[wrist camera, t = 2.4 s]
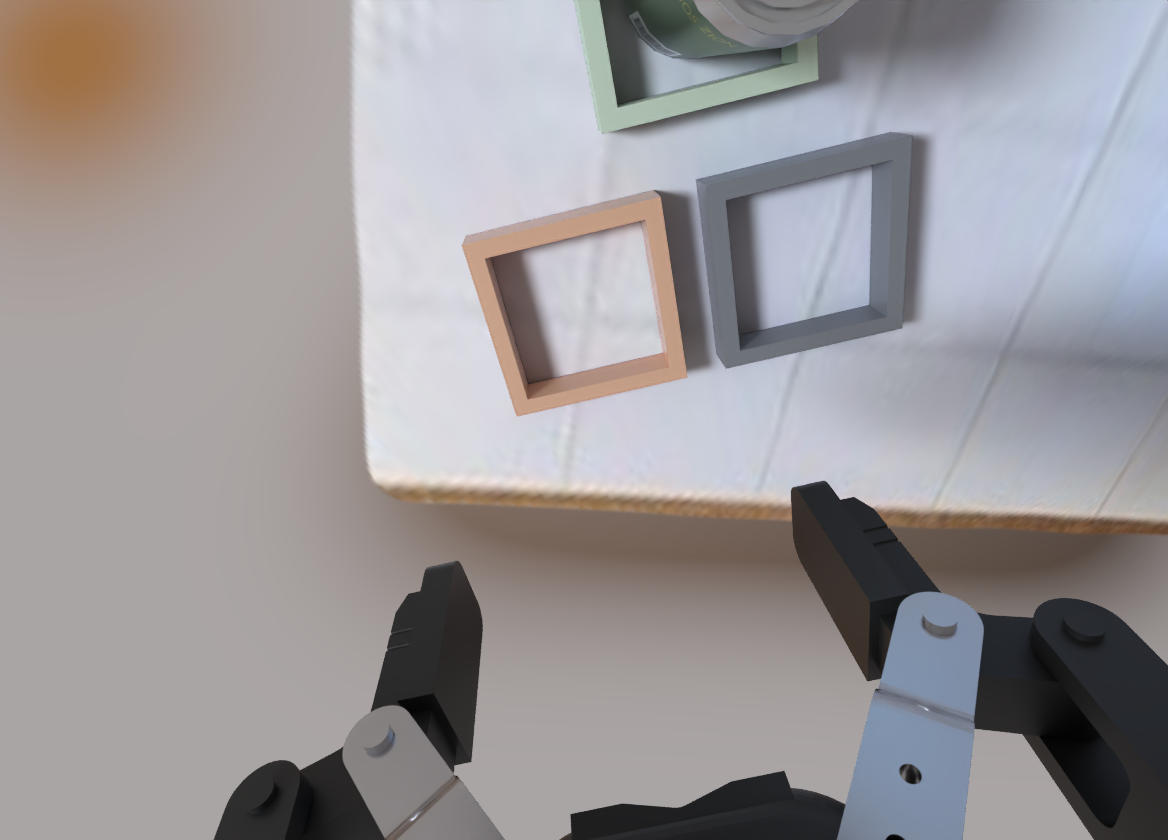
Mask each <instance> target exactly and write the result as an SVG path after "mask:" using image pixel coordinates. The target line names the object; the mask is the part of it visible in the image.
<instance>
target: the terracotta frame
mask: <svg viewBox="0 0 1168 840" xmlns="http://www.w3.org/2000/svg"><path fill="white" fill-rule="evenodd" d="M638 221H641V223H642V229H643V235H644V241H645V247H646V253H647V259H648V265H649V271H650V277H651V283H652V289H653V295H654V301H655V307H656V313H657V319H658V325H659V331H660V337H661V343H662V349H663V353H661V354H657V355H652V356H648V357H644V358H639V359H635V360H631V361H626V362H622V363H618V364H613V365H609V366H605V367H601V368H596V369H592V370H588V371H583V372H579V373H575V374H570V375H566V376H562V377H557V378H553V379H549V380H544V381H540V382H536V383H531V384H528V383H527V379H526V376H525V373H524V369H523V366H522V363H521V359H520V356H519V353H518V349H517V346H516V343H515V339H514V336H513V333H512V329H511V326H510V323H509V319H508V316H507V313H506V309H505V306H504V303H503V299H502V296H501V293H500V289H499V286H498V283H497V279H496V276H495V273H494V269H493V266H492V263H491V259H490V257H493V256H497V255H501V254H506V253H510V252H514V251H518V250H522V249H526V248H530V247H535V246H539V245H543V244H547V243H551V242H555V241H559V240H563V239H568V238H572V237H576V236H580V235H584V234H588V233H592V232H596V231H601V230H605V229H609V228H613V227H617V226H621V225H625V224H630V223H634V222H638ZM462 247H463V250H464V254H465V257H466V260H467V263H468V266H469V269H470V272H471V275H472V279H473V282H474V285H475V288H476V291H477V294H478V297H479V300H480V304H481V307H482V310H483V313H484V316H485V319H486V322H487V325H488V329H489V332H490V335H491V338H492V341H493V344H494V347H495V350H496V354H497V357H498V360H499V363H500V366H501V369H502V372H503V375H504V379H505V382H506V385H507V388H508V391H509V394H510V397H511V400H512V404H513V407H514V410H515V413H516V416H521V415H526V414H530V413H534V412H539V411H543V410H548V409H552V408H556V407H561V406H565V405H569V404H574V403H578V402H582V401H587V400H591V399H596V398H600V397H604V396H609V395H613V394H617V393H622V392H626V391H630V390H635V389H639V388H644V387H648V386H652V385H657V384H661V383H665V382H670V381H674V380H678V379H683V378H687V371H686V365H685V358H684V351H683V344H682V338H681V331H680V324H679V317H678V310H677V304H676V297H675V290H674V283H673V277H672V270H671V263H670V256H669V249H668V243H667V236H666V229H665V222H664V216H663V209H662V202H661V197H660V196H659V195H658V194H657V193H656V192H655V191H654V190H652V191H648V192H644V193H640V194H636V195H632V196H627V197H623V198H619V199H615V200H611V201H607V202H603V203H599V204H595V205H591V206H587V207H582V208H578V209H574V210H570V211H566V212H562V213H558V214H554V215H550V216H546V217H542V218H537V219H533V220H529V221H525V222H521V223H517V224H513V225H509V226H505V227H501V228H496V229H492V230H488V231H484V232H480V233H476V234H472V235H468V236H466V237H465V239H464V241H463V244H462Z"/></svg>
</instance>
